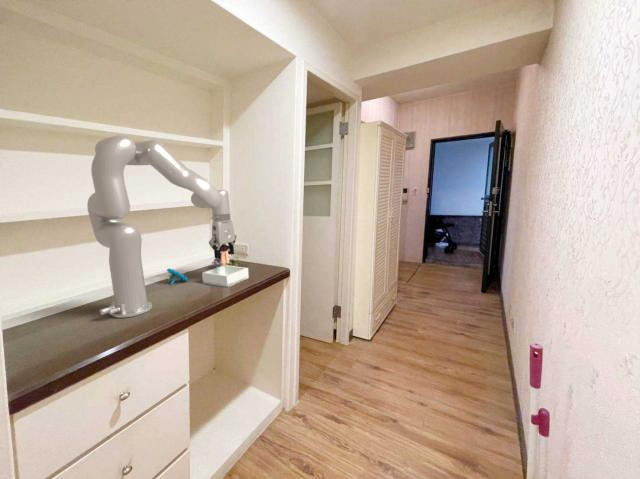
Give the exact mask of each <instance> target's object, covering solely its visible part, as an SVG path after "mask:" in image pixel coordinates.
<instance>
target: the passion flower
mask: <svg viewBox="0 0 640 479" xmlns="http://www.w3.org/2000/svg"><path fill="white" fill-rule="evenodd" d="M232 256H233V254H228V257H229V264H227V265H229V266H236V267H238V263H237V262H236V261H235V259H237V261H238V262H239V261H240V258H239V257H238V256H237V257H234V258H233V259H232V258H231V257H232ZM211 264H212V265H215V266H216V267H215V268H217V267H220V266H221V258H220V259H217V258H215V257H214V259H213V261H212V262H211Z"/></svg>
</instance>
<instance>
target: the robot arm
mask: <svg viewBox="0 0 640 479" xmlns="http://www.w3.org/2000/svg"><path fill="white" fill-rule="evenodd" d="M94 152H95V154H94V156H93V159H92V161H91V162H92V163H91V168H90V169H91V170H90V171H91V177H92V183H93V188H94V192H93V193H92V194H91V195H90V196H89V198H88V199H87V205H86V206H87V207H86V208H87V213H88V216H89V220H90V222H91V223H90V224H91V228H92V231H93V234H94V237H95V239H96V241H97V243H99V244H100V245H101V246H103V247H105V248H109V253H108V254H109V255H108V265H109V272H110V279H111V285H112V291H113V292H112V293H113V298H114V301H112V302H111V304H110V305H109V306H108V307H104V308H101V309H99V313H100V315H101V316H104V315H106V314H109V315H111V317H114V318H121V319H122V318H123V319H125V318H131V317H136V316H140V315H142V314H145V313H147V312H150V310H152V308H153V303H152V302H151V301H148V299H147V291H146V284H145V275H144V269H143V268H144V267H143V260H142V240H143V239H142V235H141V232H140V231H139V229H138V228H137V227H136V226H135V225H134V224H131V223H127V222H123V218H125V217H127V216H128V215H129V214H130V211H131V205H130V204H131V203H130V200H129V196H128V195H129V194H128V191H127V188H126V183H125V182H126V181H125V176H124V173H125V167H126V166H151V167H153V169H155V170H156V171H157V172H158V173H160V175H161V176H163V177H164V178H165V179H166V180H167V181H168V182H169V183H170V184H172V185H174V186H177V187H180V188H182V189H185V190H188V191H190V192H192V195H191V197H190V201H191V204H193V206H195V207H196V208H199V209H211V215H212V217H211V220H212V223H211V239H209V241H208V245H210V247H211V248H212V250H213V251H214V252H213V253H214V254H213V255H214V259H215V258H217V259H220V258H221V251H220V250H219V248H220V246H221V245H222V244H226V245H228V247H229V250H230V251H229V252H228V251H227V252H228V254H232V255H235V248H234V246H235V243H236V241H237V235H236V234H235V228H234V224H233V221H232V219H231V209H230V198H229V197H230V196H229V191H228V190H225V189H218V188H216V187H215V186H214V185H213V184H212V183H211V182H210V181H209V180H208V179H206V178H205V177H203V176H202V175H200V174H199V173H197V172H195V171H193V170H191V169H189V167H187V166H186V165H185V164H184V163H183V162H182V161H181V160H180V159H178V157H177V156H176V155H175V154H174V153H173V152H172V151H171V150H170V149H169V148H167V147H166V146H165V145H164V144H163V143H162V142H161V141H158V140H154V139H153V140H145V141H134V140H133V139H132V138H130V137H128V136H126V135H113V136H110V137H106V138H104V139H100V140H99V141H98V142H97V143H96V144H95V146H94Z"/></svg>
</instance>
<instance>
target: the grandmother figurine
mask: <svg viewBox="0 0 640 479" xmlns="http://www.w3.org/2000/svg"><path fill="white" fill-rule="evenodd" d="M228 246H229V245H228V244H227V243H226V244H221V245H220V248H219V250H220V251H221V266H225V265H228V264H229V257H228V252H229V251H230V250H229V247H228Z"/></svg>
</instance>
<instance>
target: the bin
mask: <svg viewBox="0 0 640 479" xmlns="http://www.w3.org/2000/svg"><path fill="white" fill-rule="evenodd" d="M201 275H202V276H201V277H202V284H204V285H211V286H217V287H223V288H229V287H232V286H234V285H236V284H238V283H241V282H243V281H246V280H248V279H249V277H250V276H249V267H244V266H243V267H241V266H237V267H236V265H234V266H229V265H228V264H226V265H225V266H220V267H217V268H216V267H215V268H213V269H209V270H206V271H202V273H201Z"/></svg>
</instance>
